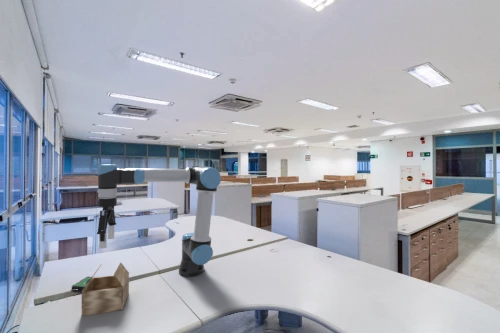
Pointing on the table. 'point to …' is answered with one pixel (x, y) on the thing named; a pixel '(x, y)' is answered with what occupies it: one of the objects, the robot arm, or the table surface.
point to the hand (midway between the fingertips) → (107, 243)
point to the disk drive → (81, 284)
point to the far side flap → (91, 278)
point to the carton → (104, 295)
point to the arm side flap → (121, 274)
